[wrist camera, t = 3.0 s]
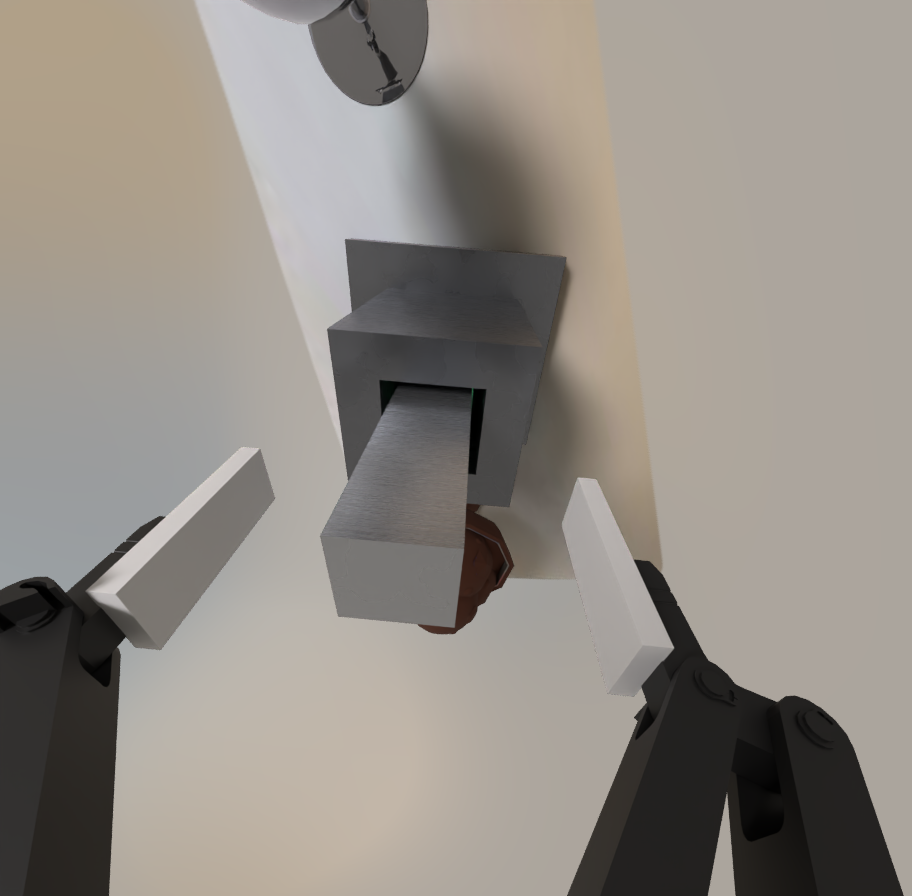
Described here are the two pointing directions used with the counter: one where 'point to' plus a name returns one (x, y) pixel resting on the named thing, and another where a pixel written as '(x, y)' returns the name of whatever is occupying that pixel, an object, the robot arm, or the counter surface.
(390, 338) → the stand housing
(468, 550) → the ice cream bowl
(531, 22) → the counter surface
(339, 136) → the counter surface
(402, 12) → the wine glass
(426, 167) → the counter surface
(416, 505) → the post
